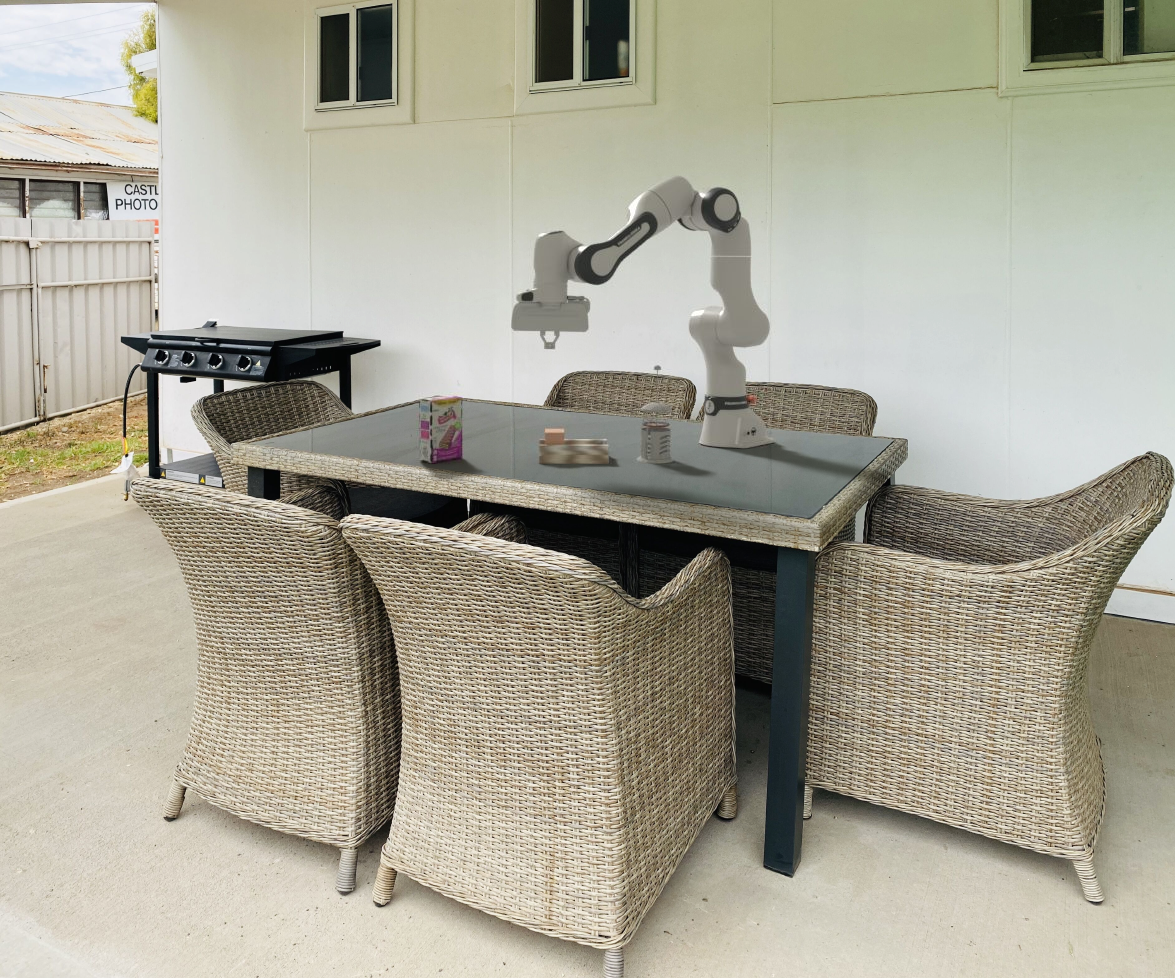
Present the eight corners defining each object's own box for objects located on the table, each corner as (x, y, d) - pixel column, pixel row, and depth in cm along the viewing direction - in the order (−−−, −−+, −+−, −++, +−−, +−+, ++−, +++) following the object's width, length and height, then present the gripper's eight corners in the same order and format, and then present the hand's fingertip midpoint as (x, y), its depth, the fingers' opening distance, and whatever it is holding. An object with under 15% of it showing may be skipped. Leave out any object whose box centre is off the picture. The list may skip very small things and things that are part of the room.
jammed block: (563, 449, 260) (563, 428, 259) (564, 453, 254) (564, 432, 253) (545, 449, 260) (545, 428, 259) (545, 453, 254) (545, 432, 253)
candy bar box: (432, 464, 249) (430, 400, 246) (419, 461, 253) (417, 398, 249) (464, 458, 258) (463, 396, 254) (451, 455, 261) (449, 394, 257)
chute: (605, 454, 264) (606, 438, 263) (608, 463, 252) (609, 446, 251) (539, 454, 263) (539, 438, 262) (539, 463, 252) (539, 446, 251)
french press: (679, 458, 260) (682, 364, 254) (660, 466, 250) (663, 368, 244) (647, 455, 264) (649, 362, 259) (626, 461, 255) (628, 366, 249)
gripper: (589, 295, 256) (588, 348, 259) (511, 294, 255) (511, 347, 258) (590, 296, 250) (589, 350, 253) (510, 294, 249) (510, 349, 252)
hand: (549, 349), depth 255 cm, fingers closed
